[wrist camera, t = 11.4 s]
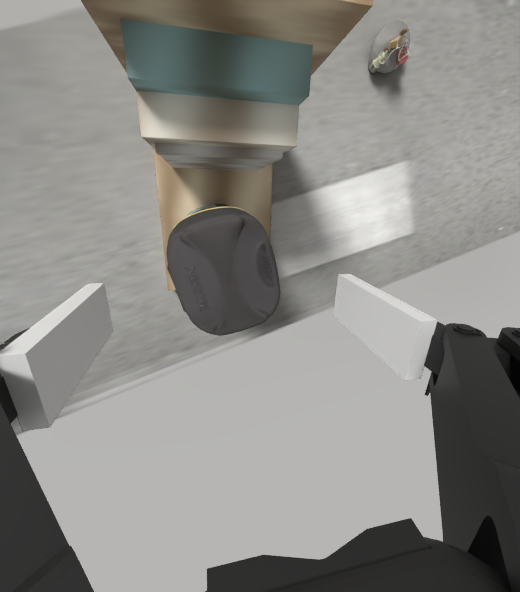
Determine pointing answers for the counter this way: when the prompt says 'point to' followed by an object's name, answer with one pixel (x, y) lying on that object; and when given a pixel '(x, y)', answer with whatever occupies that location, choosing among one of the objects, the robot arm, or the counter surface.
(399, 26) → the figurine
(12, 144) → the counter surface
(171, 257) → the coffee jar
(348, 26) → the shelf
